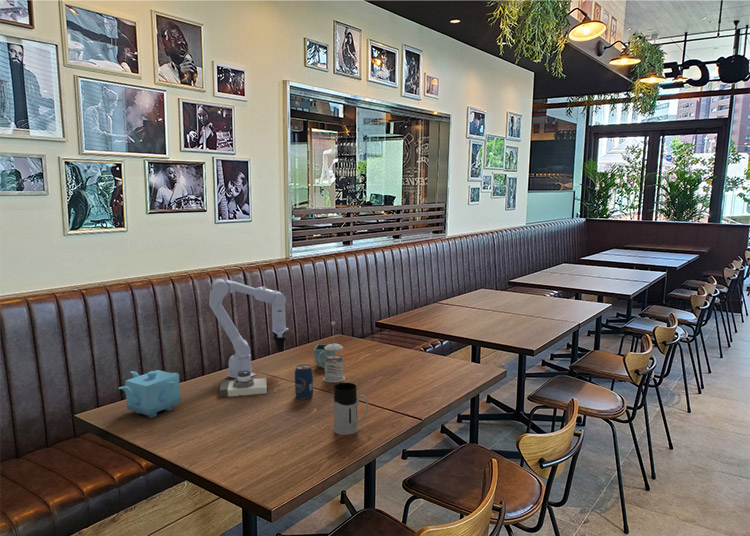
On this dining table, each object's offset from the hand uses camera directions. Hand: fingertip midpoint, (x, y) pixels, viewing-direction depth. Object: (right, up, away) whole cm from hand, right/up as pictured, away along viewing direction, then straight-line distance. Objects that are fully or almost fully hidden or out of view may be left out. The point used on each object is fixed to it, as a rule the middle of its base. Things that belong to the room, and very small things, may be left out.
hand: (279, 349), depth 241 cm
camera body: (-11, -14, -21) cm, 27 cm away
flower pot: (+19, -9, +9) cm, 23 cm away
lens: (-11, -11, -21) cm, 26 cm away
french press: (+24, -12, -8) cm, 28 cm away
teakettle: (-40, -17, -42) cm, 60 cm away
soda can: (+14, -15, -28) cm, 34 cm away
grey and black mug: (+34, -19, -59) cm, 71 cm away
